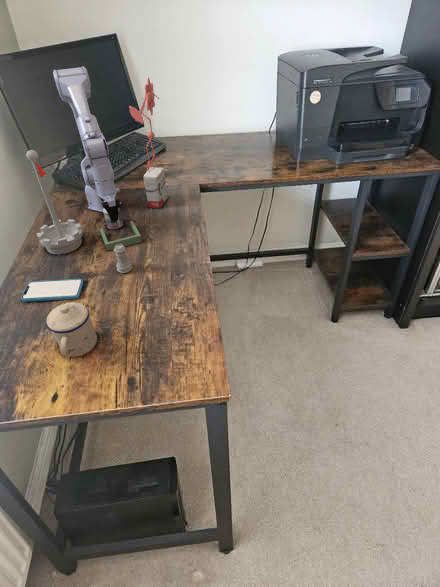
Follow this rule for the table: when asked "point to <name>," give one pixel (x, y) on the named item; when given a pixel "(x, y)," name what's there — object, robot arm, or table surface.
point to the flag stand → (55, 221)
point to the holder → (124, 241)
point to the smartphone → (52, 290)
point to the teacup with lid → (72, 329)
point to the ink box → (155, 187)
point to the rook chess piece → (122, 259)
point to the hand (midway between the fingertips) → (113, 216)
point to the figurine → (138, 117)
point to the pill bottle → (116, 223)
